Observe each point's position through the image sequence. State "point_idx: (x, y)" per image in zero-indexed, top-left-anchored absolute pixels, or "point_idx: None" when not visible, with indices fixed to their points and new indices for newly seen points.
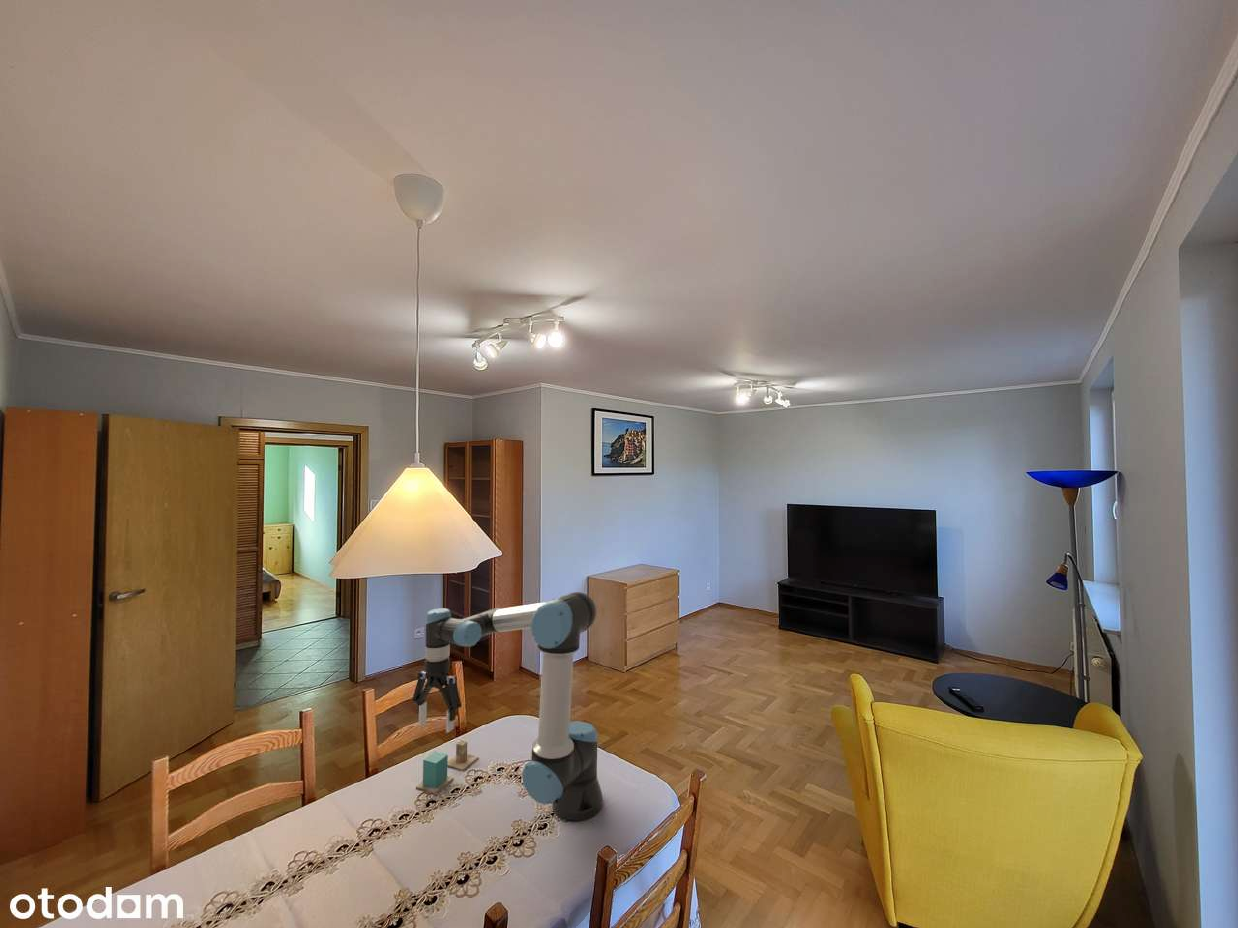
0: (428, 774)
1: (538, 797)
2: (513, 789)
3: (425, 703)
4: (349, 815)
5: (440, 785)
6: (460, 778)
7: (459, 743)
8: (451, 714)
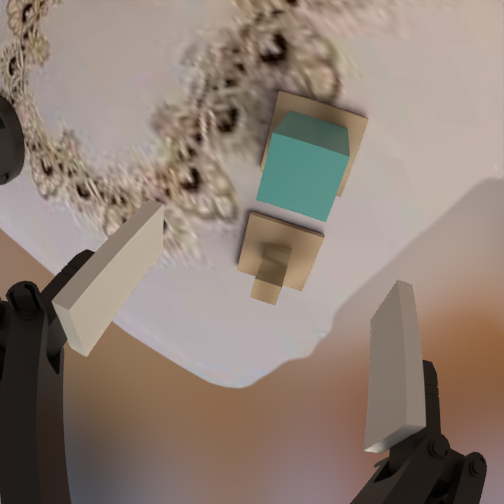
0: (320, 130)
1: None
2: (92, 150)
3: (371, 442)
4: (501, 6)
5: None
6: (243, 177)
7: (271, 288)
8: (61, 286)
